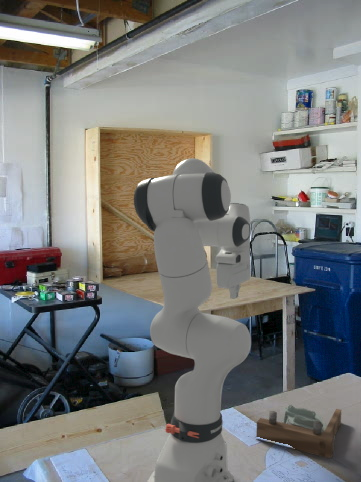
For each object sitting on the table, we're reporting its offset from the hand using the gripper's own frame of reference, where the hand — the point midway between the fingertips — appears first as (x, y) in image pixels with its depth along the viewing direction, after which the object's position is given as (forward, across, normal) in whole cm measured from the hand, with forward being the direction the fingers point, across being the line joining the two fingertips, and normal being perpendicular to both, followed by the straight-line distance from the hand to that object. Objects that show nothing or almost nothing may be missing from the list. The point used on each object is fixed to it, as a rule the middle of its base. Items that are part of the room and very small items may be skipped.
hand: (234, 298), depth 159 cm
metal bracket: (+35, +6, +25) cm, 43 cm away
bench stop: (+34, +9, +25) cm, 43 cm away
